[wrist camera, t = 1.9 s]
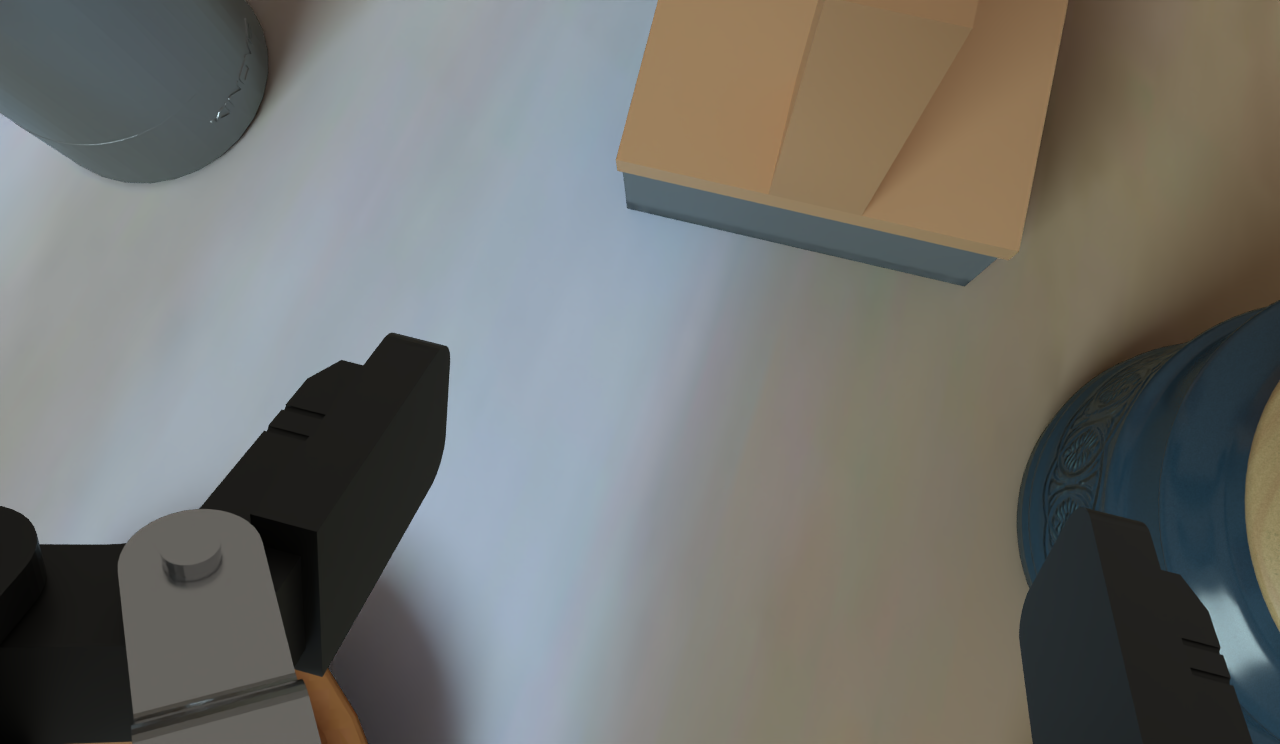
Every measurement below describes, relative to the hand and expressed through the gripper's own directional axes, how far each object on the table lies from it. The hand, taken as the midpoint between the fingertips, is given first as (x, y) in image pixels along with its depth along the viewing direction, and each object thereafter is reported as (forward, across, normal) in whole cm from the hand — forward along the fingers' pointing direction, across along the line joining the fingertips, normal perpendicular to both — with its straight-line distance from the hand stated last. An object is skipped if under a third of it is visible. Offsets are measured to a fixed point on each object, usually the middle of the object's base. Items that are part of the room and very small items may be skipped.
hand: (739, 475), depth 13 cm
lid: (+27, -1, 0) cm, 27 cm away
